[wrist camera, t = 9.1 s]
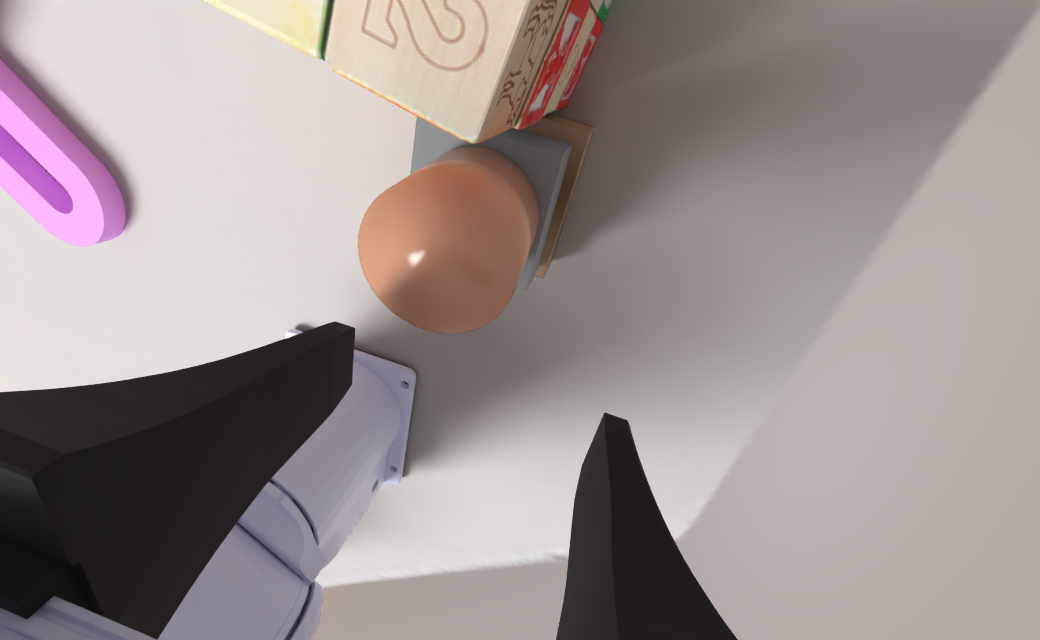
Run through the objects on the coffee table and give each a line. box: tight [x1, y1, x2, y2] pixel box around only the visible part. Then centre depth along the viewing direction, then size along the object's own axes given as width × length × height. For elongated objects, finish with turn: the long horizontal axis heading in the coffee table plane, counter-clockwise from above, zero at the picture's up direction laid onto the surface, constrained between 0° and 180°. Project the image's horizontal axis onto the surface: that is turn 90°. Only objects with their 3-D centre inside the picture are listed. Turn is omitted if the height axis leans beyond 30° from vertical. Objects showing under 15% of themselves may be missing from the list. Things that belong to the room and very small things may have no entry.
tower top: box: [411, 117, 573, 290], centre depth 17 cm, size 5×5×2 cm
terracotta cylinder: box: [358, 146, 539, 333], centre depth 14 cm, size 4×4×4 cm
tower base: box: [522, 113, 595, 278], centre depth 20 cm, size 6×6×2 cm
